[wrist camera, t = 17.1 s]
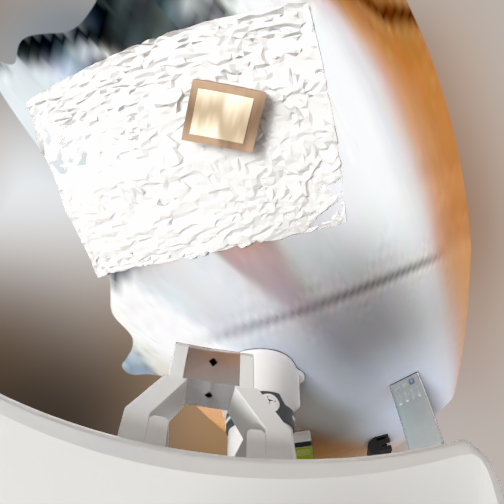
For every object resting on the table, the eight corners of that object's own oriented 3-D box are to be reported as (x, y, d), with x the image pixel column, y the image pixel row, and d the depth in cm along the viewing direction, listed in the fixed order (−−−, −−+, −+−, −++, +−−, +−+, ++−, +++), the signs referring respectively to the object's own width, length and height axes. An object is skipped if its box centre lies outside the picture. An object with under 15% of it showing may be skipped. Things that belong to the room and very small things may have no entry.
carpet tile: (306, 4, 29) (309, 0, 27) (346, 221, 44) (350, 228, 43) (30, 100, 33) (22, 102, 32) (101, 273, 49) (97, 280, 47)
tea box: (311, 448, 83) (316, 490, 70) (278, 452, 83) (281, 494, 71) (310, 428, 75) (316, 477, 62) (273, 433, 76) (275, 481, 63)
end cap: (366, 438, 82) (370, 457, 76) (387, 433, 81) (392, 450, 75) (364, 449, 87) (368, 466, 81) (384, 444, 86) (389, 460, 80)
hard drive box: (388, 385, 65) (410, 457, 48) (417, 370, 63) (444, 441, 46) (402, 407, 72) (421, 469, 55) (427, 394, 70) (449, 455, 53)
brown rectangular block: (252, 153, 34) (181, 140, 33) (251, 147, 37) (186, 134, 36) (267, 93, 31) (192, 79, 30) (265, 92, 33) (197, 78, 32)
